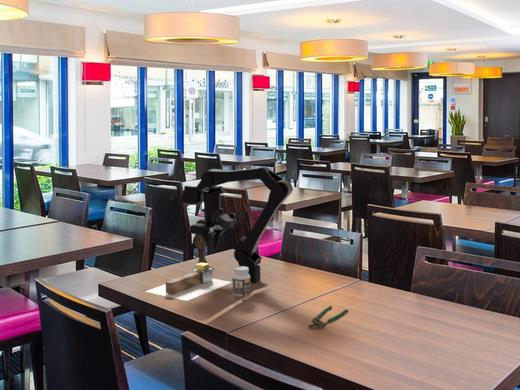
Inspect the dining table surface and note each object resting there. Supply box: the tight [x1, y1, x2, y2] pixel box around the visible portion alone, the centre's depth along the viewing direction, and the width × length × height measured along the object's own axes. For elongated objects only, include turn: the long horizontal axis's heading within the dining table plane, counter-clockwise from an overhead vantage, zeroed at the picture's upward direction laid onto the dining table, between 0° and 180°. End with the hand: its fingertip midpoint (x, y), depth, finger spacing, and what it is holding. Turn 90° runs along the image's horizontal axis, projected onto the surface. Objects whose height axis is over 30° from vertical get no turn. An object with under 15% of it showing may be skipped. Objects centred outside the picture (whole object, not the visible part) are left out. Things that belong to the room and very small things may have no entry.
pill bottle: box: [232, 265, 252, 301], centre depth 195 cm, size 6×6×10 cm
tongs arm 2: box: [168, 273, 200, 294], centre depth 202 cm, size 14×1×4 cm, turn 146°
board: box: [144, 277, 233, 302], centre depth 205 cm, size 18×24×1 cm
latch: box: [195, 262, 210, 271], centre depth 210 cm, size 3×4×2 cm
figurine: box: [192, 218, 209, 264], centre depth 236 cm, size 7×5×18 cm
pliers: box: [307, 305, 349, 330], centre depth 177 cm, size 20×6×1 cm, turn 148°
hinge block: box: [192, 267, 213, 284], centre depth 211 cm, size 5×4×4 cm
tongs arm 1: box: [165, 271, 195, 294], centre depth 202 cm, size 14×1×4 cm, turn 146°
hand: (213, 249), depth 214 cm, fingers open, 2 cm apart
